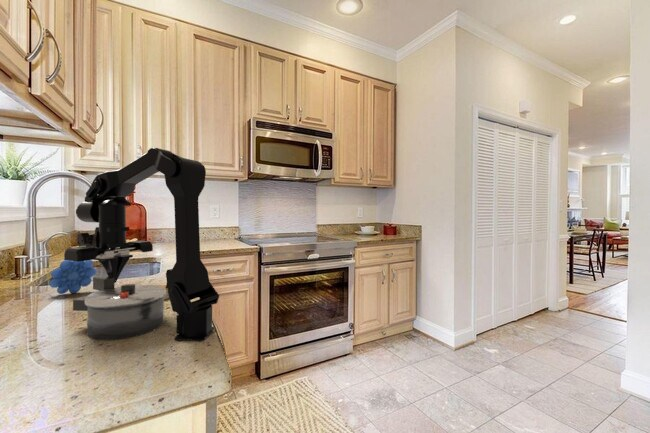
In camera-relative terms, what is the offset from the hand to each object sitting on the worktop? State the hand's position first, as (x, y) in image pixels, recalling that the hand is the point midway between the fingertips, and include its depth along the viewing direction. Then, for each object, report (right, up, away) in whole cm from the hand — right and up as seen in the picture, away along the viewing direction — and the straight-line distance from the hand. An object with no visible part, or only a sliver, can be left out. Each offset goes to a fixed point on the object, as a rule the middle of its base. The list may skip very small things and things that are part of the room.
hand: (113, 282), depth 77 cm
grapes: (-28, -8, +20) cm, 36 cm away
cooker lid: (+6, -2, -6) cm, 9 cm away
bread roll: (+2, -9, +18) cm, 20 cm away
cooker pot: (+6, -9, -7) cm, 13 cm away
